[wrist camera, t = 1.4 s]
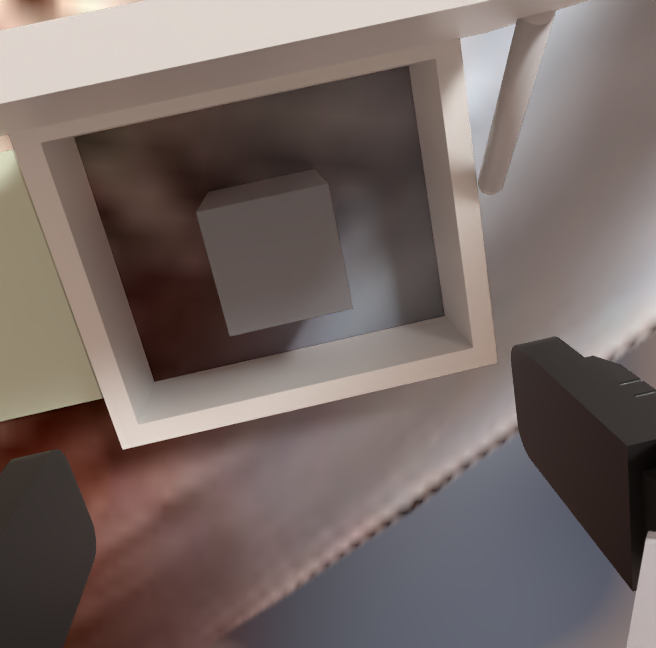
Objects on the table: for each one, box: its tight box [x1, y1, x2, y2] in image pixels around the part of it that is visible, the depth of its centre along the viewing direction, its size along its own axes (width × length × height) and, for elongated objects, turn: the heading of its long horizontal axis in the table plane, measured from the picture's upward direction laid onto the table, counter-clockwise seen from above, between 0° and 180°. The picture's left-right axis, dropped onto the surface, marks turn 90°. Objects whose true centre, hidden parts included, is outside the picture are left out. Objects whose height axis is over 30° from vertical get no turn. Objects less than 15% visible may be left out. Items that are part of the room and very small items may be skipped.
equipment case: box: [0, 0, 587, 450], centre depth 21 cm, size 19×14×18 cm
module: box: [196, 169, 353, 336], centre depth 27 cm, size 5×5×6 cm
